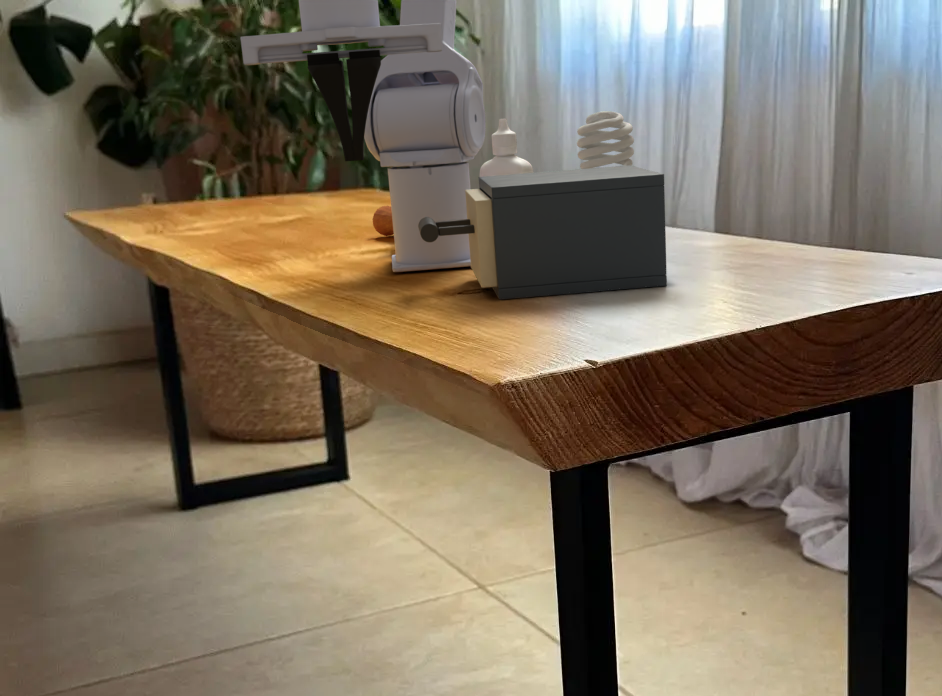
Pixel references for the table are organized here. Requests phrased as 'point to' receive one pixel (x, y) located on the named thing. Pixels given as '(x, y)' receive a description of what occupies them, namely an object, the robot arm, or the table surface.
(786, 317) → the table surface
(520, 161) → the eye dropper bottle
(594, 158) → the light bulb
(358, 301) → the table surface
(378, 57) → the robot arm
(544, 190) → the cabinet
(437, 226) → the drawer
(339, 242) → the table surface
